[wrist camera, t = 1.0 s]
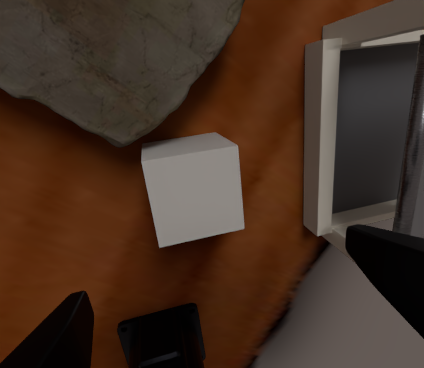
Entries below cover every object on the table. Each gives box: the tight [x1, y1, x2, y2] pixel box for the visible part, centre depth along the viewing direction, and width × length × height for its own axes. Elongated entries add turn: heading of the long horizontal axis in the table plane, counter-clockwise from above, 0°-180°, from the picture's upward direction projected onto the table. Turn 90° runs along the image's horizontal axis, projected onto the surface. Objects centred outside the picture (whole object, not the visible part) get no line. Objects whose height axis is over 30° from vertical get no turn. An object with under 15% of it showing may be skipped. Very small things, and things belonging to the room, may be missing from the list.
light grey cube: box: [141, 132, 244, 248], centre depth 17 cm, size 5×5×5 cm
